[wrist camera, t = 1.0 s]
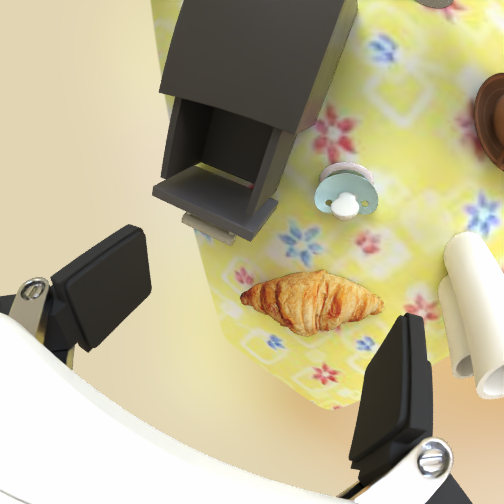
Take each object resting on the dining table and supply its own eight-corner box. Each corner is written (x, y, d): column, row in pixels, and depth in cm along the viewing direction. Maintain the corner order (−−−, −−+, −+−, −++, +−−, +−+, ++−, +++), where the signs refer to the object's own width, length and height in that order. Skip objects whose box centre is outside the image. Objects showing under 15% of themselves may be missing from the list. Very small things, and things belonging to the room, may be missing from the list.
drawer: (265, 236, 38) (239, 273, 31) (186, 200, 40) (148, 226, 33) (316, 100, 27) (301, 100, 20) (217, 70, 28) (175, 66, 21)
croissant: (384, 267, 38) (389, 273, 31) (380, 333, 39) (382, 352, 31) (250, 265, 46) (227, 269, 39) (250, 325, 47) (229, 339, 39)
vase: (444, 231, 29) (491, 356, 13) (490, 231, 26) (555, 345, 10) (435, 302, 34) (449, 426, 18) (476, 300, 31) (504, 418, 15)
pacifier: (315, 161, 32) (318, 208, 34) (305, 172, 27) (309, 228, 29) (376, 161, 29) (377, 210, 32) (380, 173, 24) (379, 231, 26)
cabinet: (314, 124, 29) (294, 135, 21) (211, 89, 31) (158, 92, 23) (357, 9, 20) (354, -28, 12) (245, -17, 22) (202, -48, 13)
